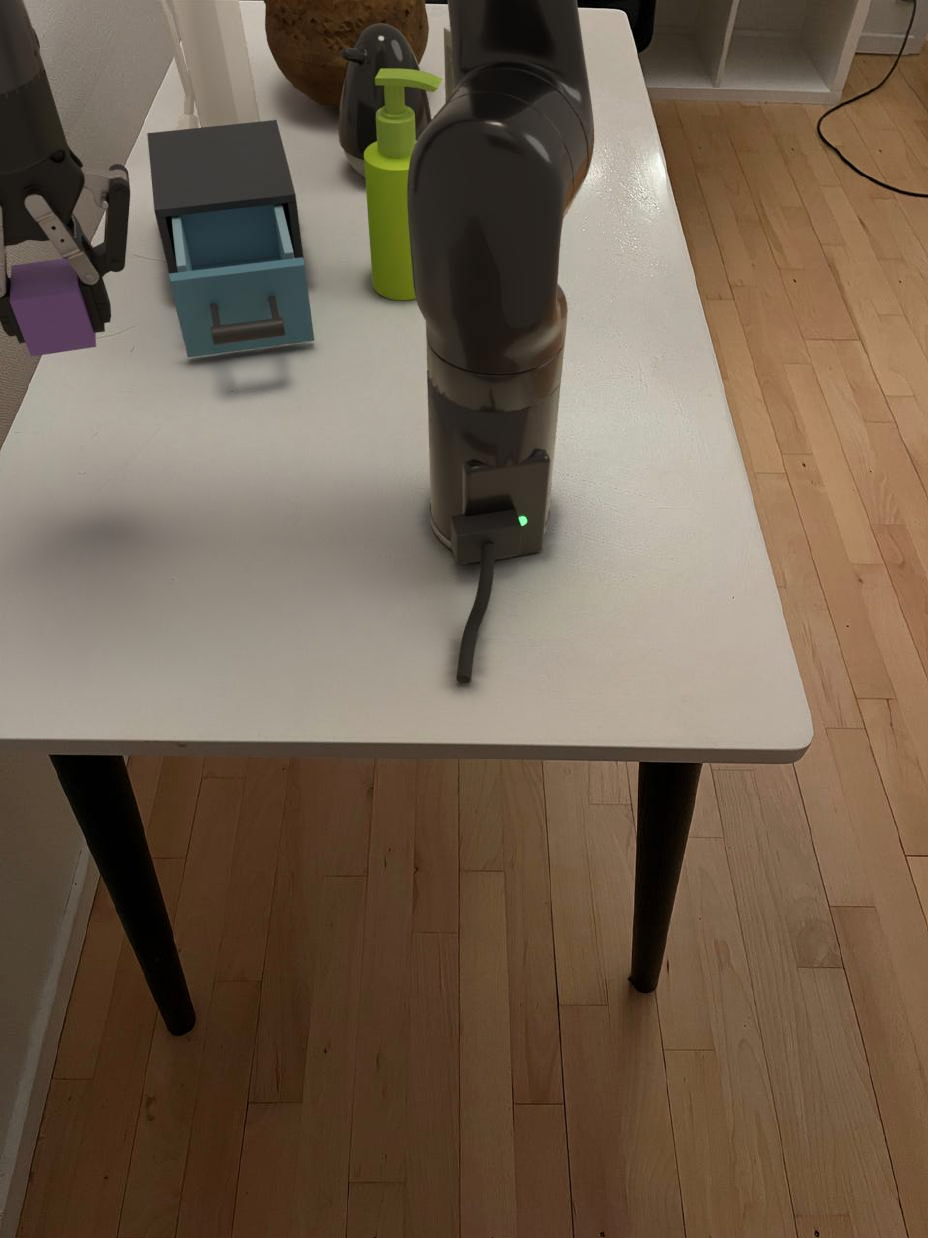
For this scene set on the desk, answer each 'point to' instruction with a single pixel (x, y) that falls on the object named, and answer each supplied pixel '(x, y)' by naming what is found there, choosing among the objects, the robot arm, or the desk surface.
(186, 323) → the drawer
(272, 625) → the desk surface
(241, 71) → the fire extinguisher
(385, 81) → the soap dispenser
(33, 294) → the lilac foam cube
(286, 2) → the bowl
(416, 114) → the black penguin figurine
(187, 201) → the dark grey box
